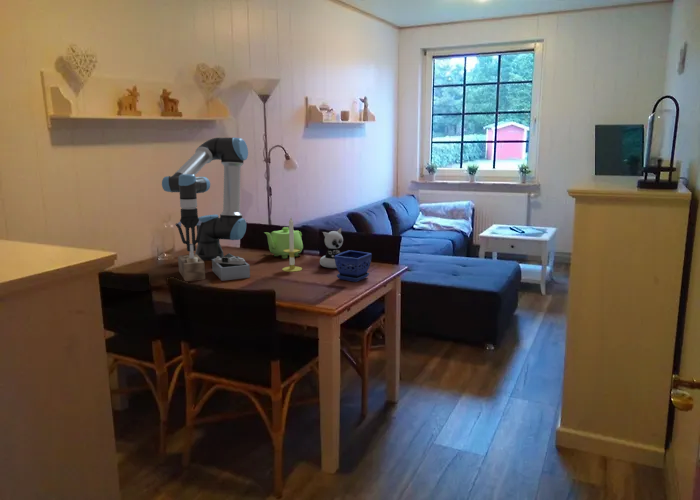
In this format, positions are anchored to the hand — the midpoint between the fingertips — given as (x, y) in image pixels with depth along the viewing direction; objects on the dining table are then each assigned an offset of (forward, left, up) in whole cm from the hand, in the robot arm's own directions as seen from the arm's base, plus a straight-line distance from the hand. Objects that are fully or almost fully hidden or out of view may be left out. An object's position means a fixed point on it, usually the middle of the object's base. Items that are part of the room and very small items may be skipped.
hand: (191, 257), depth 261 cm
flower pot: (-68, +35, -10) cm, 77 cm away
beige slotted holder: (0, -4, -10) cm, 10 cm away
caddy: (-18, +2, -10) cm, 20 cm away
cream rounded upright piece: (0, 0, -8) cm, 8 cm away
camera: (-18, +2, -10) cm, 21 cm away
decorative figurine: (-70, +8, -10) cm, 71 cm away
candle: (-48, +6, -10) cm, 49 cm away
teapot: (-53, -27, -10) cm, 60 cm away
